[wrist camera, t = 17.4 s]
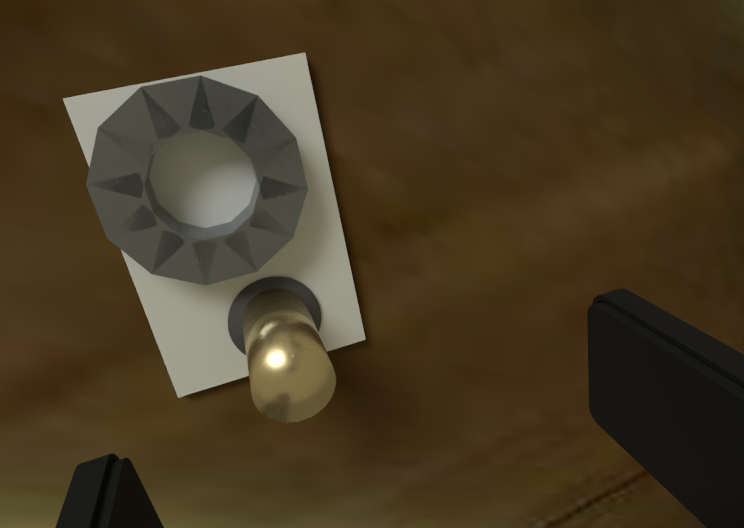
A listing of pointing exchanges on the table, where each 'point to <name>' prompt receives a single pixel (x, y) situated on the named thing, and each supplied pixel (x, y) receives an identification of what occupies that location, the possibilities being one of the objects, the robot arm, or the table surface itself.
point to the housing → (158, 227)
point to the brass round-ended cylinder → (286, 357)
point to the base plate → (221, 205)
